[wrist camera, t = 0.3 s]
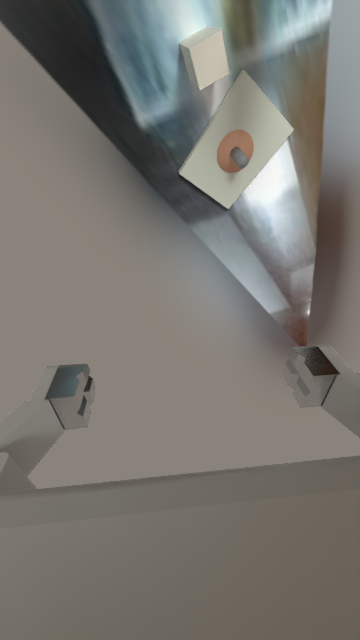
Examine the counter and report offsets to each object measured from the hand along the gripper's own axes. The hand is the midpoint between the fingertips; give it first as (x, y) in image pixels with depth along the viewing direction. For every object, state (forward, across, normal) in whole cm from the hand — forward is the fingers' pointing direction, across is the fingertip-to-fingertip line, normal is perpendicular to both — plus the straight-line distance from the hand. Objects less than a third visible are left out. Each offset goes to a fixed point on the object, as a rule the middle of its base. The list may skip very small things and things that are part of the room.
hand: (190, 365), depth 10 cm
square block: (+48, -7, -18) cm, 51 cm away
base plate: (+52, -15, -6) cm, 54 cm away
